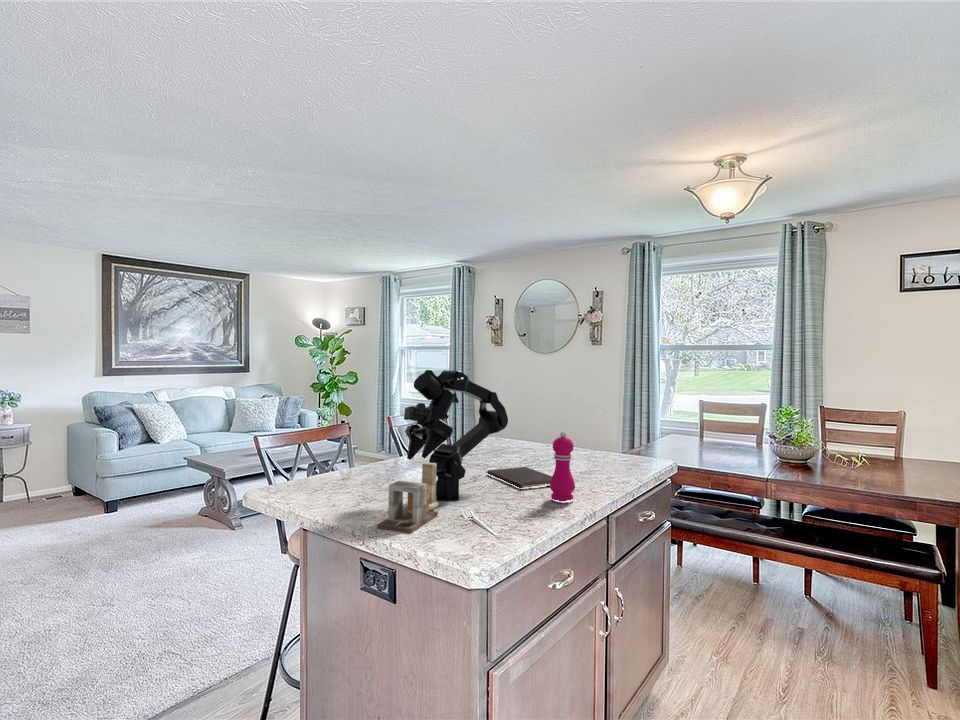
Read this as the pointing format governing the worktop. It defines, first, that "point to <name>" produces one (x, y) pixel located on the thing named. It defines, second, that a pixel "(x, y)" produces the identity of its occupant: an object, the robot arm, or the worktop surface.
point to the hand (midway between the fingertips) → (415, 458)
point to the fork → (476, 520)
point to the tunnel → (398, 516)
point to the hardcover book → (521, 476)
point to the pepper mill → (562, 469)
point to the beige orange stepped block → (430, 480)
